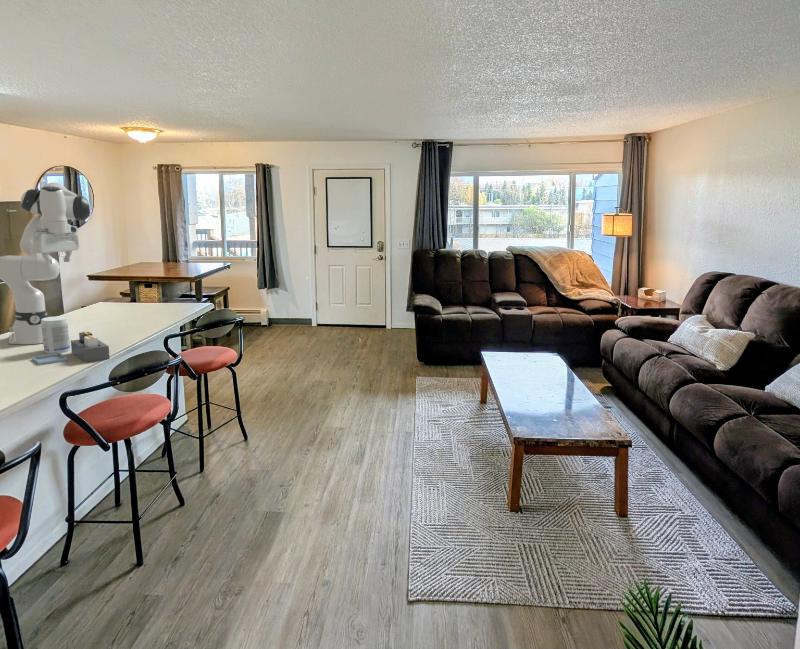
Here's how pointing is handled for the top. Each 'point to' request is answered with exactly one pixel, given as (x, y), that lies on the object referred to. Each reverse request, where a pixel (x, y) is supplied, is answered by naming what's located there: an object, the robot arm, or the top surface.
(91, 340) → the white orange-striped block
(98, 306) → the top surface
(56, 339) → the supplement tub
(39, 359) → the slate tray
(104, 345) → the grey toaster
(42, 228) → the robot arm
